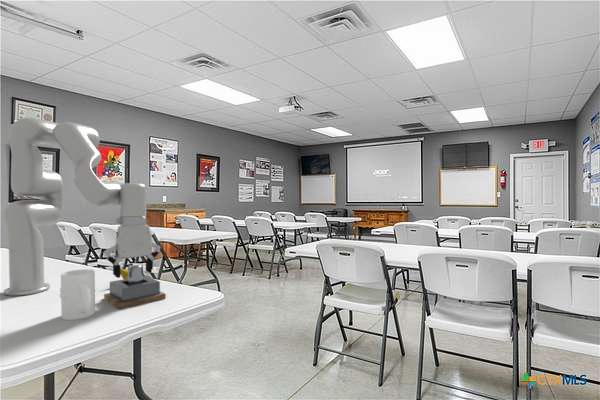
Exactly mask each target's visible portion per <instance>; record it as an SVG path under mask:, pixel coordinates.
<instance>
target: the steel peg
mask: <svg viewBox="0 0 600 400" xmlns="http://www.w3.org/2000/svg"><path fill="white" fill-rule="evenodd" d="M127 270H128V285H133V284H139V283H143V276H144V265H143V264H131V265H128V266H127Z"/></svg>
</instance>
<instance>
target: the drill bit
mask: <svg viewBox="0 0 600 400" xmlns="http://www.w3.org/2000/svg"><path fill="white" fill-rule="evenodd" d="M120 277H122V280H123V279H128V269H125V268H124V269H123V268H121V267H120Z"/></svg>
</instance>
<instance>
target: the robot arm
mask: <svg viewBox="0 0 600 400" xmlns="http://www.w3.org/2000/svg"><path fill="white" fill-rule="evenodd" d="M8 142H9V147H10V153H11V160H10V161H11V162H10V167H11V168H10V188H11V190H12V193H13V194H15V195H16V196H20V197H39V199H27V200H26V199H25V200H15V201H13V202H10V203H9V204H8V205H6V206H5V208H4V210H3V211H4V212H3V219H4V221H5V222H4V223H5V226H6V230H7V239H8V273H9V278H8V279H9V287H8V288H5V289H4V290H3V295H5V296H9V297H10V296H11V297H13V296H14V297H16V296H17V297H18V296H26V295H32V294H36V293H37V294H38V293H41V292H44V291H46V290H49V289H50V287H51V286H50V285H51V284H50V283H48V282H45V260H44V259H45V252H44V238H43V235H42V233H41V232H40V230H39V228H38V227H45V226H52V225H56V224H58V223H59V222H60V221H61V219H62V217H63V213H64V194H65V193H64V192H65V190H64V189H65V188H64V181H63V178H62V176H61V175H60V174H59V173H58V172H55V171H54V170H47V169H46V170H45V169H44V168H43V164H44V163H43V162H44V161H43V160H44V159H43V154H42V152H41V151H40V149H39V147H38V146H37V145H43V146H49V147H55V148H60V149H61V150H62V151H63V153H64V154H65V155H66V156H67V158H68V159H69V160H70V162H71V163H72V164H73V166H74V168H73V179H74V180H73V181H74V184H75V187H76V188H77V190H78V191H79V192H80V194H81V195H82V197H83V198H84V199H85V200H86V201H87V202H88V203H90V204H91V205H93V206H97V207H104V206H105V207H106V206H107V207H108V206H120V207H119V209H120V212H119V213H120V216H119V217H118V218H116V219H115V224H119V226H118V227H117V231H116V236H115V244H114V245H113V246H111V247H108V248H107V249H106V250H104V251H103V256H104V257H105V258H106V260H107V261H108V262H110V263H111V264H112V274H113V276H114V277H115V278H118V279H119V278H121V274H120V268H121V264H120V263H121V262H122V260H123V259H124V260H125V259H133V258H142V257H146V259H145V271H146V273H150V274H151V273H152V271H153V268H154V260H155V258H156V257H157V256H158V254H159V252H160V250H161V248H162V247H161V245H159V244H157V243H155V242H153V241H152V233H151V229H150V228H151V227H150V225H149V224H147V186H146V184H143V183H139V182H138V183H135V182H133V183H131V182H126V183H123V182H113V181H101V180H100V179H99V177H98V176H97V175H96V174H95V173H94V171H93V169H94V168H96V167H97V166H98V165H99V164H100V162H101V160H102V154H101V152H100V151H99V150H98V149H97V148H98V147H99V145H100V142H101V141H100V135H99V132H97V130H95V129H94V127H92V126H89V125H85V124H80V123H77V122H76V123H75V122H71V121H64V122H63V121H62V122H60V123H59V122H55V121H49V120H46V119H40V118H36V117H35V118H34V117H23V118H18V119H17V120H15V121H14V122H13V123H12V125H11V126H10V128H9V131H8ZM153 249H154V250H153ZM113 252H114V254H115V256H114V257H112V255H111V254H112V253H113Z"/></svg>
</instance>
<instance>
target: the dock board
mask: <svg viewBox="0 0 600 400" xmlns="http://www.w3.org/2000/svg"><path fill="white" fill-rule="evenodd" d="M166 294H167V293H164V292H162V291H161V290H160V294H157V295H152V296H148V297H143V298H138V299H134V300H129V301H124V302H122V301H120V300H118V299H117V298H115V297H114V296H112V295H111V294H110V292H108V293H104V295H103V299H104V300H106V302H109V303H110V305H113V306H114V307H115V308H117V309H118V310H121V309H124V308H129V307H134V306H139V305H143V304H149V303H151V302H157V301H160V300H165V299H166Z"/></svg>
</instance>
